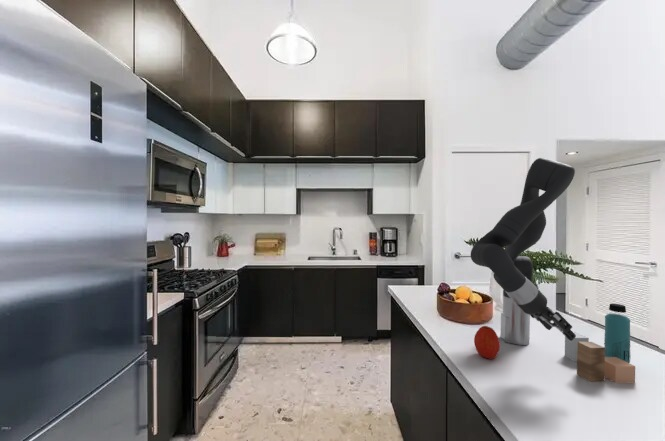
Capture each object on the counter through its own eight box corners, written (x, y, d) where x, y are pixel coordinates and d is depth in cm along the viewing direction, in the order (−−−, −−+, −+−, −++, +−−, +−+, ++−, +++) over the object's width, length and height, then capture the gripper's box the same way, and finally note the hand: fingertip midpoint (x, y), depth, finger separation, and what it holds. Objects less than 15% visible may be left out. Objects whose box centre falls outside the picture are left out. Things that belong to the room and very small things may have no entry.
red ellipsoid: (469, 350, 112) (470, 321, 112) (492, 351, 111) (493, 321, 111) (479, 361, 103) (480, 329, 103) (504, 362, 103) (505, 330, 103)
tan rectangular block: (589, 381, 91) (590, 347, 91) (576, 374, 96) (577, 341, 96) (604, 381, 92) (605, 347, 92) (590, 373, 96) (591, 341, 96)
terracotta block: (615, 383, 91) (615, 366, 91) (597, 373, 97) (597, 357, 97) (634, 383, 91) (635, 366, 91) (615, 372, 97) (615, 357, 97)
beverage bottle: (625, 371, 98) (626, 308, 98) (599, 362, 104) (600, 303, 104) (634, 367, 101) (635, 305, 101) (608, 358, 107) (609, 300, 107)
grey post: (575, 361, 104) (575, 337, 104) (564, 355, 109) (565, 332, 109) (588, 361, 105) (588, 337, 105) (576, 355, 109) (577, 332, 109)
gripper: (551, 291, 86) (590, 332, 86) (518, 280, 100) (552, 316, 100) (532, 310, 86) (571, 351, 86) (502, 297, 100) (536, 332, 100)
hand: (561, 332), depth 93 cm, fingers open, 8 cm apart
